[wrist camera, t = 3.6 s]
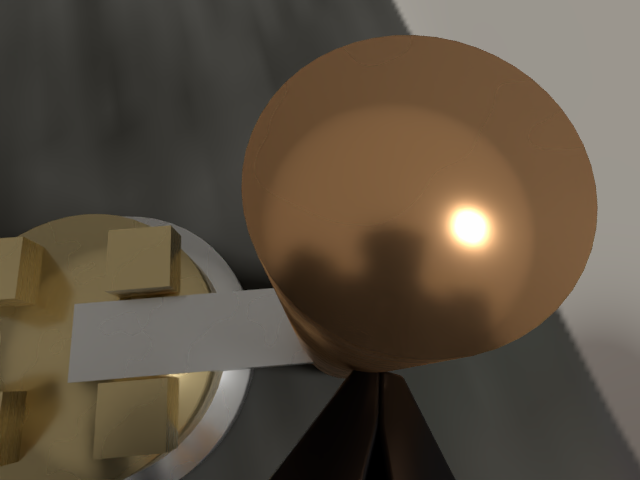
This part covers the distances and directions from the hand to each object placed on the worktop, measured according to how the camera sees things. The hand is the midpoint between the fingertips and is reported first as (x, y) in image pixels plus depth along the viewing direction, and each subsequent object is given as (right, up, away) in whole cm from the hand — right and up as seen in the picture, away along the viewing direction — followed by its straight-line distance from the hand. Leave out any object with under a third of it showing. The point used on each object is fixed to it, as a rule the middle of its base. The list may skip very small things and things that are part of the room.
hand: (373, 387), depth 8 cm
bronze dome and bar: (-5, -1, +8) cm, 9 cm away
